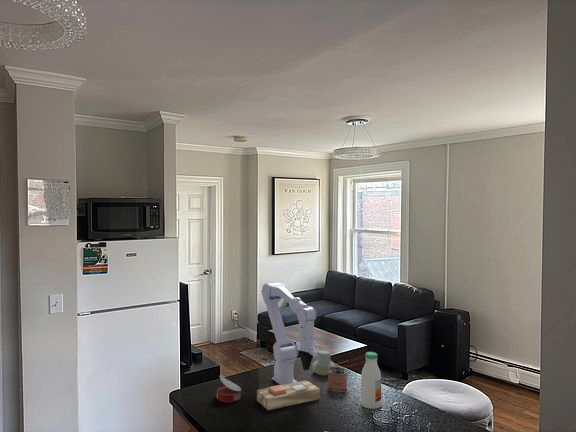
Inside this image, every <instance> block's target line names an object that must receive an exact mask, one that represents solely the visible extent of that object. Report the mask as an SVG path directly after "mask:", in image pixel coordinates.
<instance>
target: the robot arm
mask: <svg viewBox="0 0 576 432" xmlns="http://www.w3.org/2000/svg"><path fill="white" fill-rule="evenodd" d="M261 296H262V299H263V302H264V304H265V307H266V309H267V312H268V317H269V321H270V323H271V327H272V331H273V333H274V337H275V340H276V341H275V343H274V344H273V346H272V349H273V358H274V360H275V362H274V364H273V377H271V380H273V381H275V383H277V384H278V385H286V384H291V383H296V382H298V380H296V379H295V378H294V376H295V375H294V374H295V371H294V370H295V369H294V368H295V362H296V359H297V358H298V357H300V362H301V364H302V369H303V370H304V371H309V370H310V367H311V364H312V361H313V359H314V358H316V357H317V358H318V352H319V351H318V350H317V349H316V348H315V347H314V336H315V334H314V333H315V331H314V330H315V329H314V327H315V320H316V319H317V318H318V313H317V309H316V308H315V307H314V306H309V305H308V304H306V303H305V302H304V301H303V300H302V298H300V297H295V296H293V294H291V292H290V291H289V290H288V289H287V285H286V284H285V283H284V282H282V281H280V282H272V283H271V282H270V283H267V282H266V283H264V284H263V285H262V288H261ZM282 299H283V301H285V302H286V303H287V304H288V307H289V309H290V310H291V311H293V312H294V314H296V316H297V320H298V325H299V342H295V341H294V340H293V339H292V338H289V337H288V333H287V330H286V327H285V324H284V321H283V317H282V314H281V311H280V307H279V303H280V302H281V301H282Z"/></svg>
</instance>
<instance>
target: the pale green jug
mask: <svg viewBox="0 0 576 432" xmlns="http://www.w3.org/2000/svg"><path fill="white" fill-rule="evenodd" d="M330 366H335V367H337V366H336V364H335V363H334V361H332V360H331V351H329V350H323V349H322V350H319V351H318V357H317V360H315V361H314V362H313V363H312V365H311V367H312V370H313V371H314V373H315V374H317V375H319V376H323V377H326V376H328V371H333V370H330ZM334 371H336V370H334Z"/></svg>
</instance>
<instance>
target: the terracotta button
mask: <svg viewBox="0 0 576 432" xmlns="http://www.w3.org/2000/svg"><path fill="white" fill-rule="evenodd" d="M268 388H269V392H270V393H271V394H273V395H274V396H276V395H280V394H285V393H286V389H285V388H284V387H282V386H281V385H280V384H277V385H273V386H272V385H271V386H269V387H268Z"/></svg>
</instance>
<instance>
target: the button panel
mask: <svg viewBox="0 0 576 432" xmlns="http://www.w3.org/2000/svg"><path fill="white" fill-rule="evenodd" d="M300 384H302V385H303V386H305V387H306V388H308V389H304V390H300V391H296V390H295V389H293V388H292V387H291V386H295V385H300ZM281 386H282V387H284V388H285V389H286V393H285V394H280V395H276V396H274V395H273V394H271V393H270V392H269V387H266V388H261V389H257V390H256V401H257V402H258V403H259V404H260V405H262V406H263V408H264V409H266V410H267V411H271V410H276V409H277V410H278V409H280V408H284V407H289V406H294V405H299V404H301V403H308V402H311V401H312V402H313V401H316V400H320V399H321V397H320V396H321V393H320V392H321V388H319V387H318V386H316V385H315V384H313V383H311V382H310V381H308V380H307V379H306V380H302V381H297V382H296V383H291V384H286V385H281Z"/></svg>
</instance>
